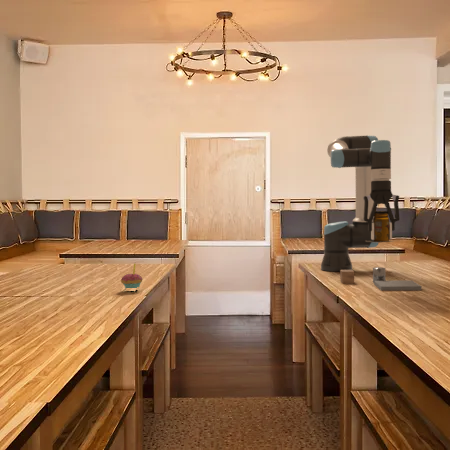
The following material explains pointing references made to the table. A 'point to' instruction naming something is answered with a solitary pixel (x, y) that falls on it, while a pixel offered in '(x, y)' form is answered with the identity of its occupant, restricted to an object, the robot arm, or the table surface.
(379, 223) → the condiment
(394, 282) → the board
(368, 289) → the table surface
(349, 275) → the walnut block
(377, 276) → the metal canister
